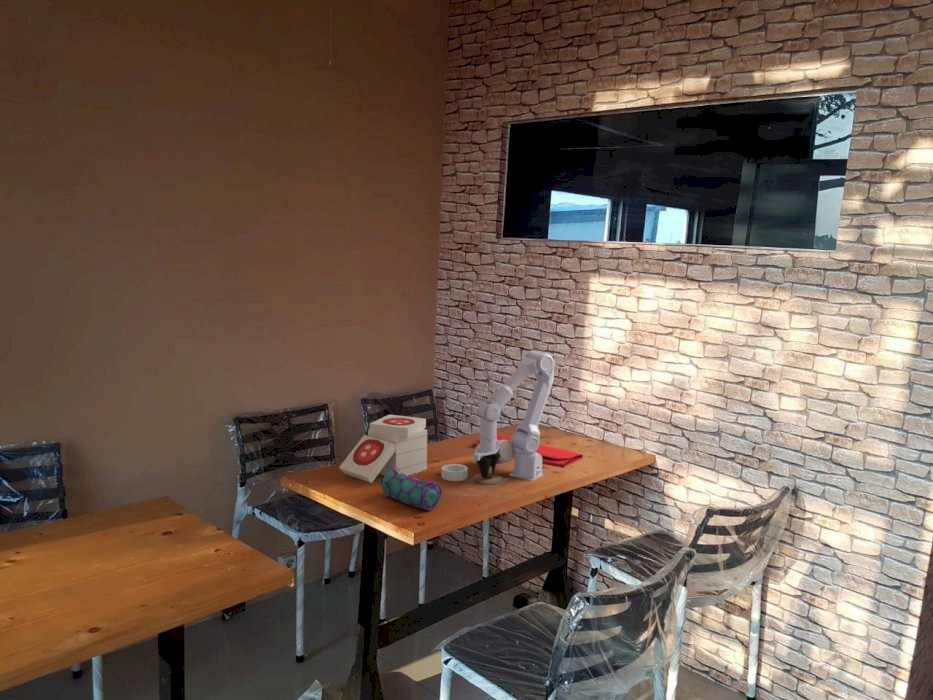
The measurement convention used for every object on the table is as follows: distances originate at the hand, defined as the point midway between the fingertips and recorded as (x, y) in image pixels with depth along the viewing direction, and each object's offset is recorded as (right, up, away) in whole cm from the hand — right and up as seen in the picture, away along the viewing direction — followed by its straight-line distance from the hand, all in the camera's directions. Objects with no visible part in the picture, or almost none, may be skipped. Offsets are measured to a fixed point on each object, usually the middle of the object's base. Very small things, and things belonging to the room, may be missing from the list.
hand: (487, 475), depth 250 cm
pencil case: (-25, -5, -21) cm, 33 cm away
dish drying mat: (+16, +2, +34) cm, 38 cm away
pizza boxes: (-35, -1, +7) cm, 36 cm away
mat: (0, -2, 0) cm, 2 cm away
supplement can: (-1, +5, +18) cm, 19 cm away
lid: (0, -2, 0) cm, 2 cm away
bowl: (-11, -1, +3) cm, 12 cm away
